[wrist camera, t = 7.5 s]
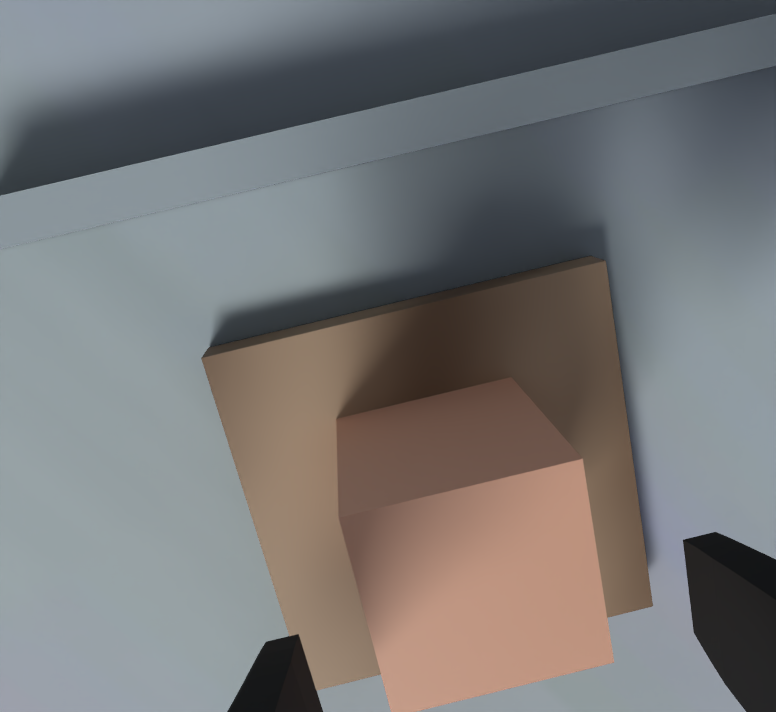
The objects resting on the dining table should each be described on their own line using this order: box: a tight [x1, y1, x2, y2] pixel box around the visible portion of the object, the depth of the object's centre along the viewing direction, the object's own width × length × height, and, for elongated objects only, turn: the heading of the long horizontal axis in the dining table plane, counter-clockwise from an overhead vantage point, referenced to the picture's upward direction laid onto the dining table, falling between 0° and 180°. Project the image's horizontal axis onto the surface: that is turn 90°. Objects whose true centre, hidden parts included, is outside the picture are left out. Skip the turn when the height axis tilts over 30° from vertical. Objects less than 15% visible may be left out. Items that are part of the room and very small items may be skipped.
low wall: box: [0, 13, 776, 249], centre depth 15 cm, size 20×1×2 cm, turn 103°
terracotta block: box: [336, 377, 614, 712], centre depth 15 cm, size 4×4×5 cm
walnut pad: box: [201, 256, 653, 690], centre depth 18 cm, size 10×10×1 cm
